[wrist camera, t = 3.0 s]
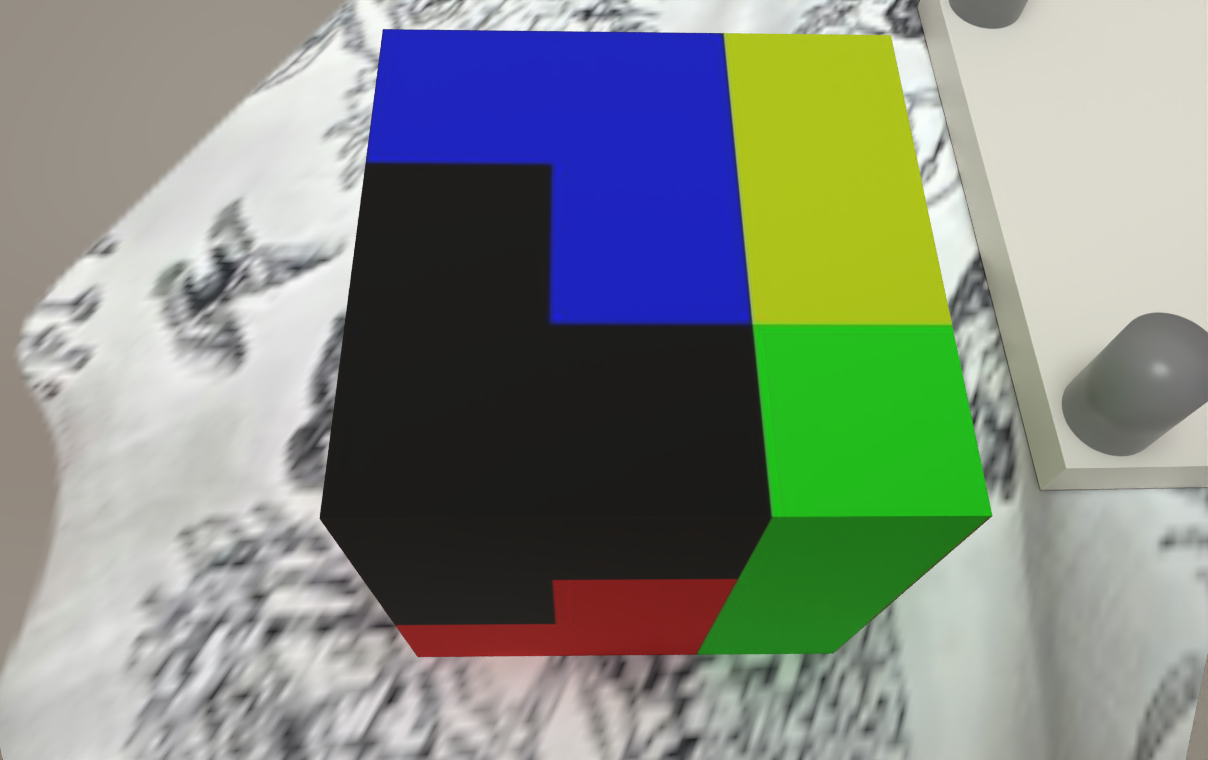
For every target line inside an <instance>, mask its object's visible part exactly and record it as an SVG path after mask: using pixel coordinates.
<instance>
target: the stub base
mask: <svg viewBox="0 0 1208 760" xmlns="http://www.w3.org/2000/svg"><path fill="white" fill-rule="evenodd" d="M918 11H919V15H920V19H921V23H922V27H923V31H924V35H925V39H926V43H927V47H928V51H929V55H930V58H931V62H932V66H933V70H934V74H935V78H936V82H937V86H938V90H939V94H940V98H941V102H942V106H943V109H944V113H945V117H946V121H947V125H948V129H949V133H950V137H951V141H952V145H953V149H954V153H955V157H956V161H957V164H958V168H959V172H960V176H961V180H962V184H963V188H964V192H965V196H966V200H967V204H968V208H969V212H970V216H971V219H972V223H973V227H974V231H975V235H976V239H977V243H978V247H979V251H980V255H981V259H982V263H983V267H984V270H985V274H986V278H987V282H988V286H989V290H990V294H991V298H992V302H993V306H994V310H995V314H996V318H997V322H998V325H999V329H1000V333H1001V337H1002V341H1003V345H1004V349H1005V353H1006V357H1007V361H1008V365H1009V369H1010V373H1011V377H1012V380H1013V384H1014V388H1015V392H1016V396H1017V400H1018V404H1019V408H1020V412H1021V416H1022V420H1023V424H1024V428H1025V431H1026V435H1027V439H1028V443H1029V447H1030V451H1031V455H1032V459H1033V463H1034V467H1035V471H1036V475H1037V479H1038V483H1039V486H1040V490H1072V489H1129V488H1185V487H1208V0H920V2H919V5H918Z"/></svg>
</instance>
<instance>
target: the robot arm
mask: <svg viewBox="0 0 1208 760" xmlns="http://www.w3.org/2000/svg"><path fill="white" fill-rule="evenodd" d="M0 760H3V758H2V754H1V749H0ZM1186 760H1208V655H1207V660H1206V665H1205V669H1204V674H1203V679H1202V684H1201V689H1200V694H1199V698H1198V703H1197V708H1196V713H1195V718H1194V722H1193V727H1192V732H1191V737H1190V742H1189V747H1188V751H1187V756H1186Z"/></svg>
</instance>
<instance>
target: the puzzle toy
mask: <svg viewBox="0 0 1208 760" xmlns="http://www.w3.org/2000/svg"><path fill="white" fill-rule="evenodd" d="M991 517H992V512H991V507H990V502H989V498H988V493H987V488H986V483H985V479H984V474H983V469H982V464H981V460H980V455H979V450H978V446H977V441H976V436H975V431H974V427H973V422H972V417H971V412H970V408H969V403H968V398H967V394H966V389H965V384H964V379H963V375H962V370H961V365H960V360H959V356H958V351H957V346H956V341H955V337H954V332H953V327H952V323H951V318H950V313H949V308H948V304H947V299H946V294H945V289H944V285H943V280H942V275H941V271H940V266H939V261H938V256H937V252H936V247H935V242H934V237H933V233H932V228H931V223H930V218H929V214H928V209H927V204H926V200H925V195H924V190H923V185H922V181H921V176H920V171H919V166H918V162H917V157H916V152H915V147H914V143H913V138H912V133H911V129H910V124H909V119H908V114H907V110H906V105H905V100H904V95H903V91H902V86H901V81H900V77H899V72H898V67H897V62H896V58H895V53H894V48H893V43H892V39H891V35H825V34H741V33H656V32H572V31H487V30H403V29H383V33H382V40H381V48H380V56H379V64H378V71H377V79H376V87H375V94H374V102H373V110H372V118H371V125H370V133H369V141H368V149H367V156H366V164H365V172H364V179H363V187H362V195H361V203H360V210H359V218H358V226H357V233H356V241H355V249H354V257H353V264H352V272H351V280H350V288H349V295H348V303H347V311H346V318H345V326H344V334H343V342H342V349H341V357H340V365H339V373H338V380H337V388H336V396H335V403H334V411H333V419H332V427H331V434H330V442H329V450H328V458H327V465H326V473H325V481H324V488H323V496H322V504H321V512H320V520H321V521H322V523H323V524H324V525H325V527H326V528H327V530H328V531H329V533H330V534H331V535H332V537H333V538H334V540H335V541H336V542H337V544H338V545H339V547H340V548H341V549H342V551H343V552H344V554H345V555H346V556H347V558H348V559H349V561H350V562H351V564H352V565H353V566H354V568H355V569H356V571H357V572H358V573H359V575H360V576H361V578H362V579H363V580H364V582H365V583H366V585H367V586H368V587H369V589H370V590H371V592H372V593H373V595H374V596H375V597H376V599H377V600H378V602H379V603H380V604H381V606H382V607H383V609H384V610H385V611H386V613H387V614H388V616H389V617H390V618H391V620H392V621H393V623H394V624H395V626H396V627H397V628H398V630H399V631H400V633H401V634H402V635H403V637H404V638H405V640H406V641H407V642H408V644H409V645H410V647H411V648H412V649H413V651H414V652H415V654H416V655H417V657H471V656H587V655H702V654H817V653H834V652H835V651H837V650H838V649H839V648H840V647H841V646H842V645H843V644H845V643H846V642H847V641H848V640H849V639H850V638H852V637H853V636H854V635H855V634H856V633H857V632H859V631H860V630H861V629H862V628H863V627H864V626H865V625H867V624H868V623H869V622H870V621H871V620H872V619H874V618H875V617H876V616H877V615H878V614H879V613H881V612H882V611H883V610H884V609H885V608H886V607H887V606H889V605H890V604H891V603H892V602H893V601H894V600H896V599H897V598H898V597H899V596H900V595H901V594H903V593H904V592H905V591H906V590H907V589H908V588H910V587H911V586H912V585H913V584H914V583H915V582H916V581H918V580H919V579H920V578H921V577H922V576H923V575H925V574H926V573H927V572H928V571H929V570H930V569H932V568H933V567H934V566H935V565H936V564H937V563H938V562H940V561H941V560H942V559H943V558H944V557H945V556H947V555H948V554H949V553H950V552H951V551H952V550H954V549H955V548H956V547H957V546H958V545H959V544H960V543H962V542H963V541H964V540H965V539H966V538H967V537H969V536H970V535H971V534H972V533H973V532H974V531H976V530H977V529H978V528H979V527H980V526H981V525H982V524H984V523H985V522H986V521H987V520H988V519H989V518H991Z"/></svg>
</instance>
